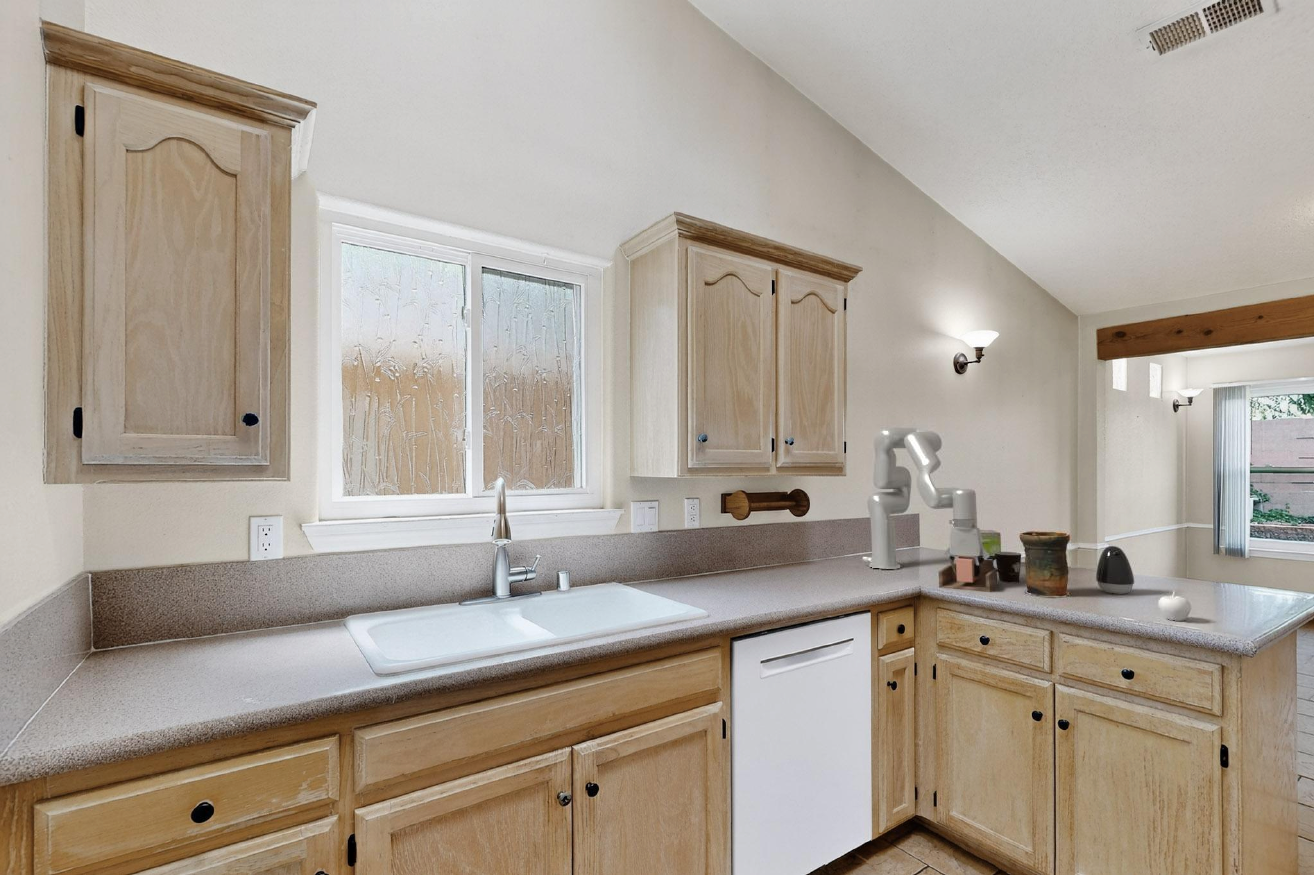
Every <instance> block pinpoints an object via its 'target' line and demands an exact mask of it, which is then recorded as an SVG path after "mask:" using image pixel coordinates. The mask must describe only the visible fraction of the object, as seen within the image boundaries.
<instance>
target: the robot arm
mask: <svg viewBox="0 0 1314 875" xmlns="http://www.w3.org/2000/svg"><path fill="white" fill-rule="evenodd" d="M942 444H943V442H942V438H941V437H940V435H939V434H938V433H937V432H935V431H931V430H926V429H921V428H917V427H889V428H888V427H886V428H883V429H880V430H879V431H878V432H877V433H876V434H875V437H874V440H873V445H874V446H873V447H874V463H873V464H874V466H873V478H872V480H873V481H872V482H873V485H874V487H875V488H877V489H880V490H892V491H878V492H873V493H872V494H870V495H869V496H868V498H867V503H866V504H867V509H868V513H869V518H870V531H871V534H870V535H871V556H863V557H862V561H863V562H866V563H868V562H869V563H868V567H869V566H870V567H872V568H871V569H873V568H886V569H893V568H899V569H901V568H900V567H901V565H900V564H898V563H897V547H896V545H897V544H896V526H895V522H894V519H892V517H891V515H899V514H904V513H905V512H907V511H908V509H909V506H910V500H911V490H912V475H911V472H910V471H909V469H908V468H907V467H905V466H901V465H899V466H898V465H897V455H896V453H895V451H894V449H906V450H907V453H908V455H909V456H910V458H911V460H912V461H913V464H914V465H915V466H916V469H917V470H918V474H917V478H916V483H917V485H916V487H917V489H918V492H919V495H920V496H921V498H922V500H923V501H924V503H925V505H926V506H928V507H929V508H931V509H933V510H941V509H942V510H944V509H952V511H953V512H952V513H953V514H952V516H953V519H949V525H953V527H950V536H949V547H948V548H947V549H946V550H945V551H944V553H943V554H944V555H945V556H946V557H947V558H949V559H950V561H951V560H952V561H953V562H954V564H955V572H956V573H957V571H956V559H958V558H959V557H960V556H964V557H973V558H974V561H975V565H974V574H975V577H977V576H978V574H980V564H981V563H982V562H983V561H984V560H986V559H987V558H988V557H990V555H989V553H988V552H987V551H986V550H985V549H984V548H983V545H982V538H981V533H980V530H981V529H980V527H978V513H977V510H978V509H977V495H976V494H977V493H976V491H975V490H974V489H972V488H958V487H936V486H935V484H934V483H933V481H932V478H931V474H933V473H935V472H936V471H937V470H939V468H940V467H941V460H940V458H939V456H938V455H937V452H939V451H940V450H941V449H942V446H943V445H942ZM982 554H984V556H983V557H982V558H980V559H979V556H981V555H982ZM870 567H869V568H870Z"/></svg>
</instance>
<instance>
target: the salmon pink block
mask: <svg viewBox="0 0 1314 875" xmlns="http://www.w3.org/2000/svg"><path fill="white" fill-rule="evenodd" d="M974 565H975V561H974V558H973V557H964V556H961V557H959V558H958V559H956V571H957V581H962V582H974V581H975V580H976V579H978V578H979V577H978V576H977V577H975V574H974Z"/></svg>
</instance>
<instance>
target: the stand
mask: <svg viewBox="0 0 1314 875" xmlns="http://www.w3.org/2000/svg"><path fill="white" fill-rule="evenodd" d="M978 577H979V578H978V579H976V580H975V581H974V582H962V581H957V573H956V572H955V564H954V562H953V561H952V560H951V559H950V565H949V564H948V565H946V566H945V567H944V568H941V569H940V570H938V587H939V588H940V587H944V588H943V589H951V588H953V590H962V589H963V591H964V590H965V591H975V592H985V593H986V592H987V593H991V592H992V591H993V590H994V589H995V587H996V586H998V581H999V580H998V572H997V568H996V569H994V563H993V560H984V561H983V562H982V563H981V564H980V574H978Z"/></svg>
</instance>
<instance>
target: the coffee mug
mask: <svg viewBox="0 0 1314 875" xmlns="http://www.w3.org/2000/svg"><path fill="white" fill-rule="evenodd" d="M992 560H993V561H994V560H996V564H997V568H995V567H994V569H997V577H998V581H999V582H1002V583H1012V582H1014V583H1020V578H1021V577H1020V574H1021V564H1022V553H1021V552H1017V551H1016V552H1015V551H1001V552H995V558H993V559H992Z"/></svg>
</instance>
